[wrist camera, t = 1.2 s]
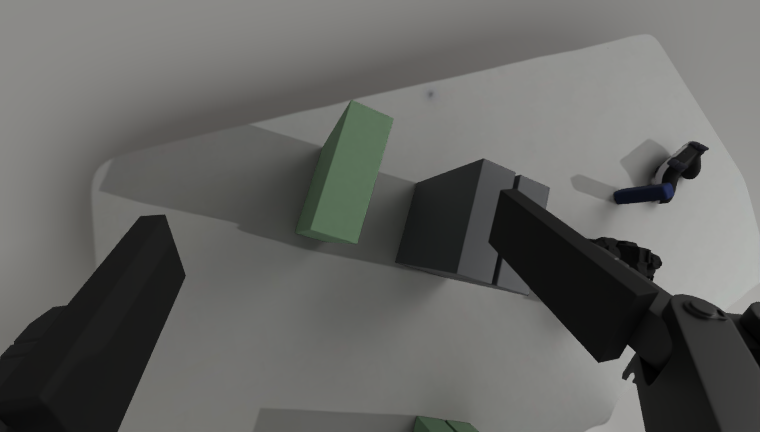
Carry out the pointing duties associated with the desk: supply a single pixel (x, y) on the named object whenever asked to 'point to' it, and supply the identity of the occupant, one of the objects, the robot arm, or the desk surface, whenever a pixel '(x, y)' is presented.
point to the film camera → (631, 255)
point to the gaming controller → (680, 166)
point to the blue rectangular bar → (644, 193)
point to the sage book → (345, 176)
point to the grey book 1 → (455, 222)
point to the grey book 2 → (503, 272)
